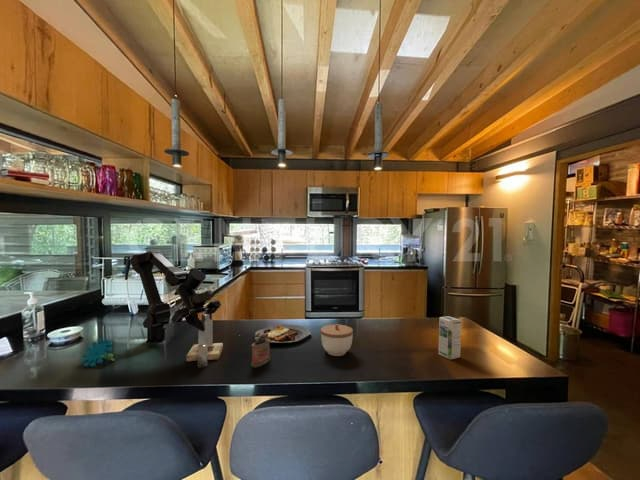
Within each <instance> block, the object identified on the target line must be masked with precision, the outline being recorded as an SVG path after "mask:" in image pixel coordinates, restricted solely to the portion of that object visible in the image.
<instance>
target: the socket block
mask: <svg viewBox="0 0 640 480" xmlns="http://www.w3.org/2000/svg"><path fill="white" fill-rule="evenodd" d="M223 349H224V343H223V342H216V343H215V342H214V343H213V345H212V346H209V347H208V361H209V360H219V358H220V356H221V354H222V351H223ZM185 357H186V362H192V361H193V362H194V361H197V362H198V343H196V344H192V347H191V348H190V350H189V351H188V353H187V354H186V356H185Z"/></svg>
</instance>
